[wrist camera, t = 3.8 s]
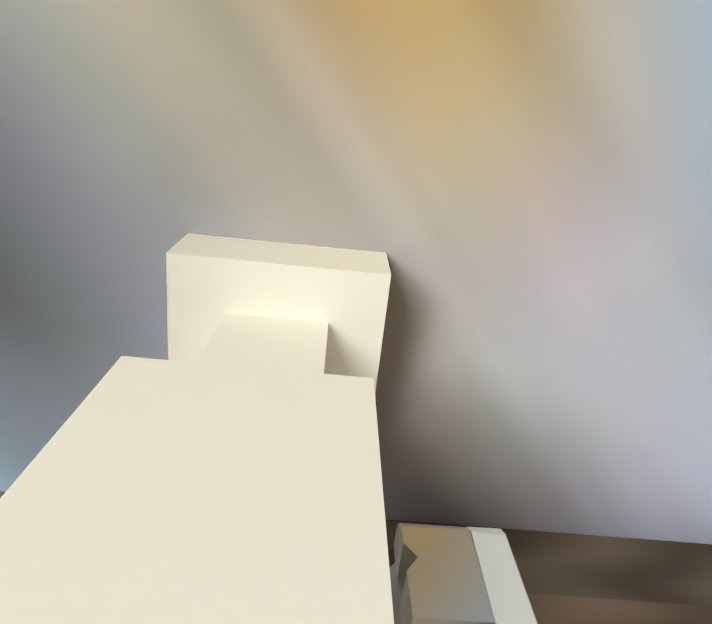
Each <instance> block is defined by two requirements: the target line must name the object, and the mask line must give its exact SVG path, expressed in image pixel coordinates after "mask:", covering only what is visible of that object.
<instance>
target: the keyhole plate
mask: <svg viewBox="0 0 712 624" xmlns="http://www.w3.org/2000/svg"><path fill="white" fill-rule="evenodd" d="M385 521H386V533H387V545H388V557H389V567H390V566H392V565H393V564H394V563H395V556H394V544H393V543H394V538H395V532H396V528H397V526H398V523H412V524H426V525H441V526H456V525H443V524H430V523H416V522H403V521H390V520H385ZM456 527H465V528H466V527H469V526H456ZM481 528H482V527H481ZM501 530H502V531H503V532H504V533H505V534H506V536H507V539H508V542H509V545H510V547H511V550H512V553H513V556H514V559H515V561H516V564H517V567H518V570H519V572H520V575H521V578H522V581H523V584H524V586H525V589H526V592H527V595H528V598H529V600H530V603H531V606H532V609H533V611H534V614H535V617H536V620H537V623H538V624H712V545H707V544H694V543H681V542H668V541H654V540H641V539H628V538H615V537H601V536H588V535H575V534H562V533H549V532H535V531H522V530H509V529H501Z"/></svg>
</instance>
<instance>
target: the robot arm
mask: <svg viewBox="0 0 712 624" xmlns="http://www.w3.org/2000/svg"><path fill="white" fill-rule="evenodd" d="M4 493H5V492H1V491H0V498H1V497H2V496H3V495H4ZM393 544H394V556H395V563H394V564H393V565H392V566H390V567H389V569H390V581H391V593H392V605H393V617H394V624H538V623H537V620H536V617H535V614H534V611H533V609H532V606H531V603H530V600H529V598H528V595H527V592H526V589H525V586H524V584H523V581H522V578H521V575H520V572H519V570H518V567H517V564H516V561H515V559H514V556H513V553H512V550H511V547H510V545H509V542H508V539H507V536H506V534H505V533H504V532H503V531H502V530H501V529H498V528H481V527H466V528H465V527H456V526H441V525H426V524H412V523H398V526H397V528H396V532H395V538H394V543H393Z"/></svg>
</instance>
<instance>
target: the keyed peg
mask: <svg viewBox="0 0 712 624" xmlns="http://www.w3.org/2000/svg"><path fill="white" fill-rule="evenodd" d="M166 273H167V322H168V360H163V359H151V358H140V357H129V356H121V357H120V358H119V359H118V361H117V362H116V363H115V364H114V365H113V367H112V368H111V369H110V370H109V371H108V372H107V374H106V375H105V376H104V377H103V378H102V379H101V381H100V382H99V383H98V384H97V385H96V386H95V388H94V389H93V390H92V391H91V392H90V394H89V395H88V396H87V397H86V398H85V399H84V401H83V402H82V403H81V404H80V405H79V406H78V408H77V409H76V410H75V411H74V412H73V414H72V415H71V416H70V417H69V418H68V419H67V421H66V422H65V423H64V424H63V425H62V426H61V428H60V429H59V430H58V431H57V432H56V433H55V435H54V436H53V437H52V438H51V439H50V441H49V442H48V443H47V444H46V445H45V446H44V448H43V449H42V450H41V451H40V452H39V453H38V455H37V456H36V457H35V458H34V459H33V460H32V462H31V463H30V464H29V465H28V466H27V468H26V469H25V470H24V471H23V472H22V473H21V475H20V476H19V477H18V478H17V479H16V480H15V482H14V483H13V484H12V485H11V486H10V487H9V489H8V490H7V491H6V492H5V493H4V495H3V496H2V497H1V498H0V624H394V617H393V605H392V593H391V581H390V569H389V557H388V545H387V533H386V521H385V509H384V497H383V484H382V472H381V460H380V448H379V436H378V424H377V412H376V400H375V391H376V384H377V376H378V369H379V362H380V354H381V347H382V339H383V332H384V325H385V317H386V310H387V302H388V295H389V288H390V280H391V272H390V267H389V263H388V258H387V254H386V253H382V252H372V251H362V250H352V249H342V248H331V247H321V246H311V245H301V244H291V243H281V242H271V241H261V240H251V239H241V238H231V237H221V236H211V235H201V234H191V233H188V234H187V235H185V236H184V237H183V238H182V239H181V240H180V241H179V242H178V243H177V244H175V245H174V246H173V247H172V248H171V249H170V250H169V251H168V252H166Z"/></svg>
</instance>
